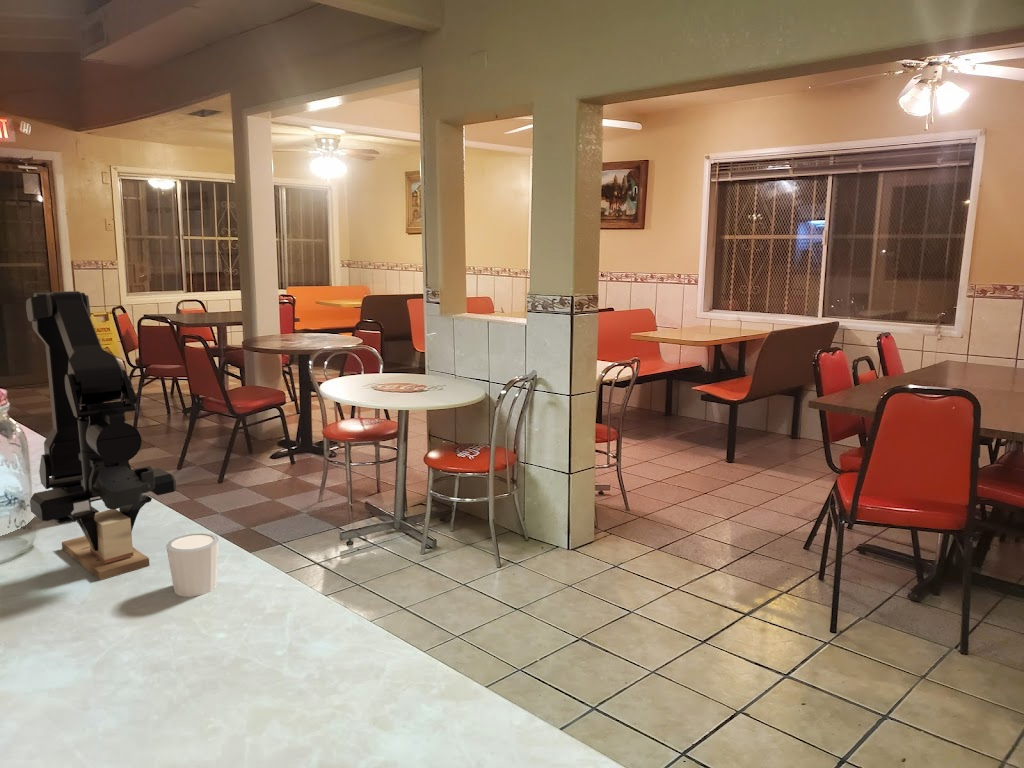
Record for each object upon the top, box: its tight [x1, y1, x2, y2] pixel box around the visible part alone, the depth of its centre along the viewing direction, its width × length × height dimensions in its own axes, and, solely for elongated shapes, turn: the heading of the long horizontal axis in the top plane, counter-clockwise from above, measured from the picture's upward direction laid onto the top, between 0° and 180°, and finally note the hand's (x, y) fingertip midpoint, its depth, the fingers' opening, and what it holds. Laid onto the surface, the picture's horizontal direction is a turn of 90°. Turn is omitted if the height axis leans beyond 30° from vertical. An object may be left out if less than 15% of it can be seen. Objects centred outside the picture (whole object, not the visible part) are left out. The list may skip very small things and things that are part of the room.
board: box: [61, 535, 150, 581], centre depth 117 cm, size 16×7×1 cm, turn 48°
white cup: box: [165, 532, 220, 597], centre depth 106 cm, size 7×7×7 cm
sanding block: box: [90, 509, 134, 564], centre depth 114 cm, size 6×4×6 cm, turn 48°
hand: (110, 546), depth 114 cm, fingers closed on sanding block, 4 cm apart
